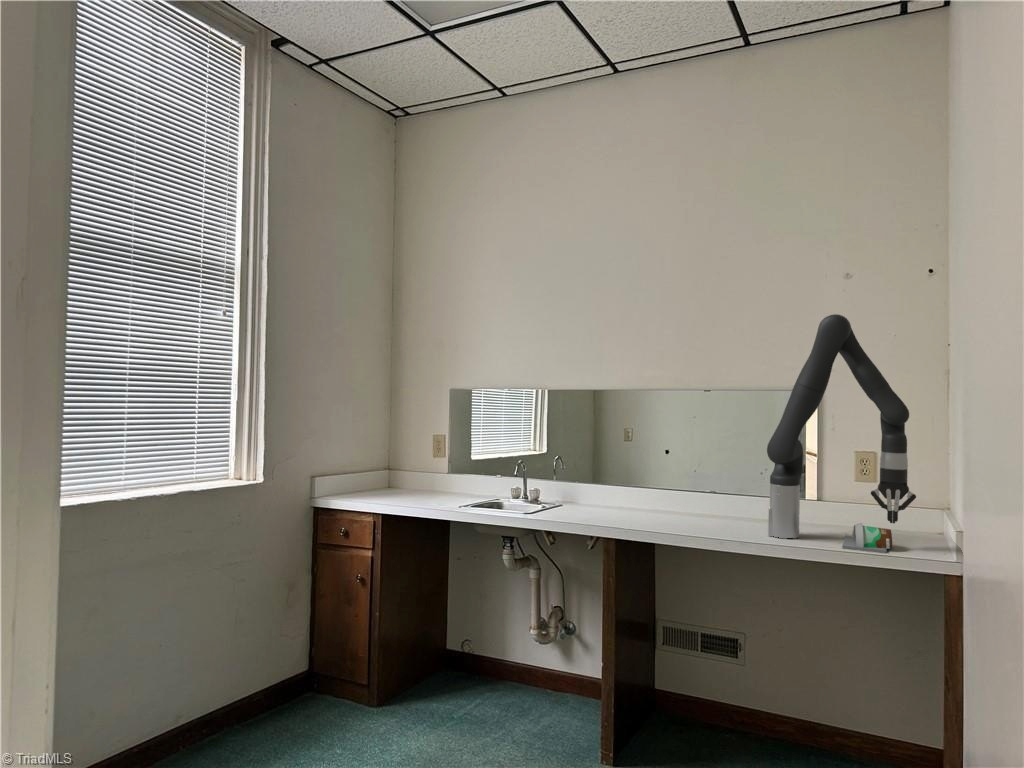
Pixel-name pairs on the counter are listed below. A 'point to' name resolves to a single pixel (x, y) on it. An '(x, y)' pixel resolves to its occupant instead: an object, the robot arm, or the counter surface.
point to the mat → (851, 544)
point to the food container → (872, 537)
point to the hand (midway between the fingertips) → (892, 522)
